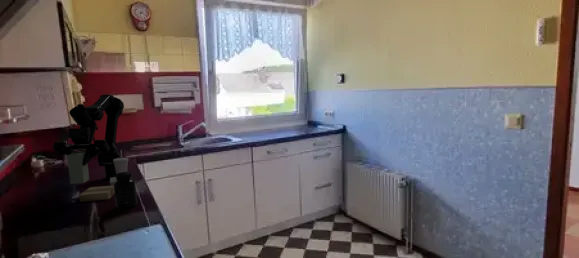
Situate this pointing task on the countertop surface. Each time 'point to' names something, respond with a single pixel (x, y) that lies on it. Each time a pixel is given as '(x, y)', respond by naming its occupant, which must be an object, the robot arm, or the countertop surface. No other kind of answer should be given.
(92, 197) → the oak block
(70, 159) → the sage block
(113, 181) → the grey tile block
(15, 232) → the countertop surface
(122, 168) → the smoothie
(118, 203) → the supplement bottle
